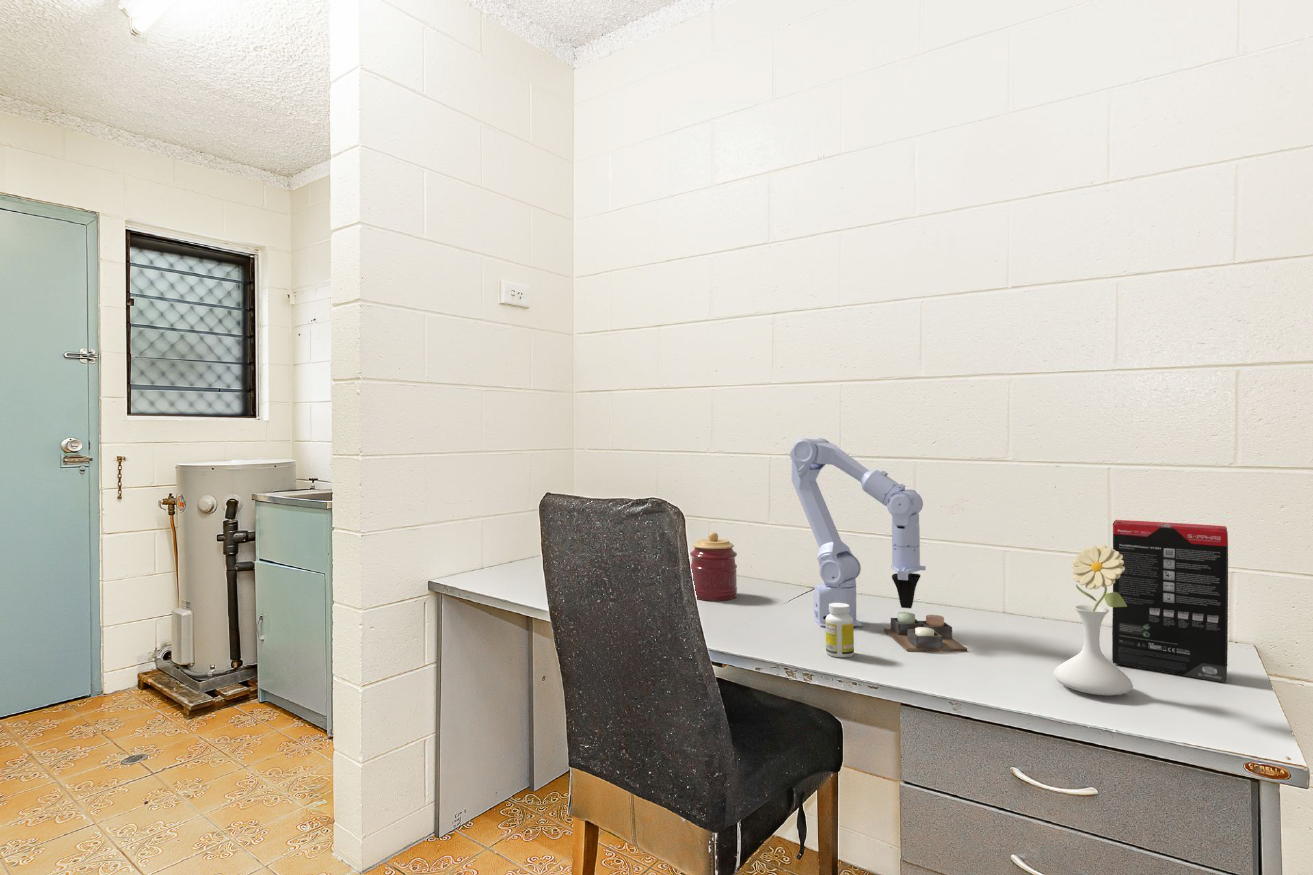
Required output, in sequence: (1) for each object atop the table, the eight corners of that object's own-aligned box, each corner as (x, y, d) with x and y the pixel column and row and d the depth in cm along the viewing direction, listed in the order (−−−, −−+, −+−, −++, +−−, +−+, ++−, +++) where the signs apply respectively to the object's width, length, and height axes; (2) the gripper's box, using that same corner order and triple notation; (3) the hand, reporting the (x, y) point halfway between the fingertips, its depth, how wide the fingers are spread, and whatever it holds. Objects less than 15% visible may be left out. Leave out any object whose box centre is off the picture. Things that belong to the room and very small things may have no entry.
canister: (744, 600, 183) (743, 534, 183) (697, 602, 180) (697, 536, 180) (728, 590, 196) (727, 528, 196) (684, 592, 193) (684, 530, 193)
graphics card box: (1228, 675, 123) (1226, 523, 123) (1231, 685, 117) (1228, 527, 118) (1114, 657, 133) (1112, 517, 133) (1111, 666, 128) (1110, 521, 128)
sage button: (900, 628, 148) (900, 616, 148) (895, 623, 151) (895, 612, 151) (917, 628, 147) (917, 616, 148) (911, 623, 151) (911, 612, 151)
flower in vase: (1038, 679, 121) (1037, 538, 121) (1099, 677, 122) (1098, 537, 122) (1091, 707, 108) (1089, 549, 108) (1159, 705, 109) (1157, 548, 109)
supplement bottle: (854, 651, 137) (854, 602, 137) (853, 659, 132) (852, 609, 132) (826, 649, 139) (826, 601, 139) (824, 656, 134) (824, 606, 134)
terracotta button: (929, 631, 145) (929, 619, 145) (923, 626, 149) (923, 614, 149) (946, 631, 145) (946, 619, 145) (940, 626, 149) (940, 614, 149)
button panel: (907, 651, 137) (907, 636, 137) (884, 631, 152) (884, 617, 152) (967, 651, 137) (967, 636, 137) (938, 631, 152) (938, 617, 152)
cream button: (919, 644, 138) (918, 631, 138) (912, 639, 142) (912, 627, 142) (936, 644, 138) (936, 631, 138) (930, 639, 142) (930, 627, 142)
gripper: (922, 551, 141) (923, 616, 141) (927, 542, 154) (928, 602, 154) (887, 549, 144) (887, 613, 144) (894, 540, 157) (895, 599, 157)
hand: (906, 607), depth 149 cm, fingers closed
